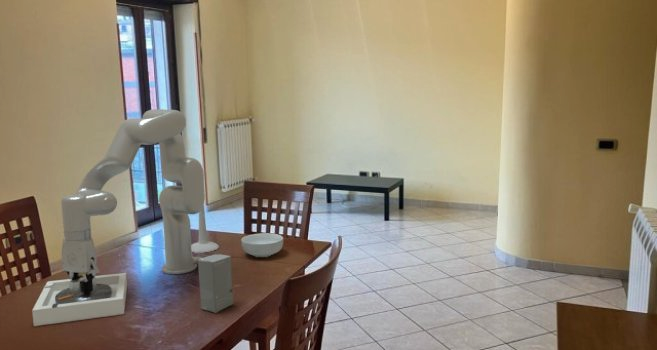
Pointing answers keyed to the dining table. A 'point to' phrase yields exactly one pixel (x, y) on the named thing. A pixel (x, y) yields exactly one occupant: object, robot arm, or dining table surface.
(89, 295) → the dial
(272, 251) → the cereal bowl
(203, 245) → the candlestick
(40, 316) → the dial housing
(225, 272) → the skincare box
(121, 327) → the dining table surface
